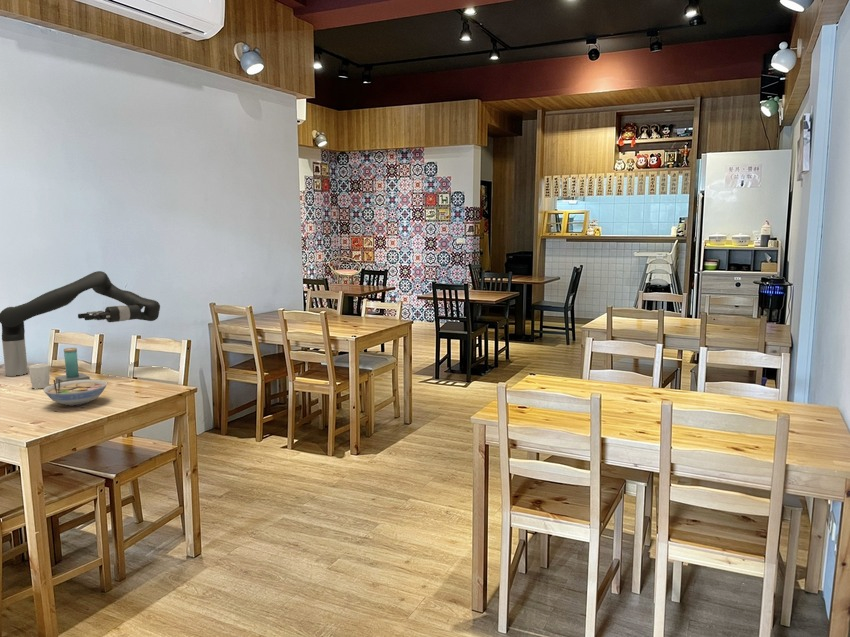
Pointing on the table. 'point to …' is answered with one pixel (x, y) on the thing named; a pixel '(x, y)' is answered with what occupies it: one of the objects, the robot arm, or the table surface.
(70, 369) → the tea canister
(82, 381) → the ramen bowl
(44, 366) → the white cup
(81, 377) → the slate plinth
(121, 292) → the robot arm
